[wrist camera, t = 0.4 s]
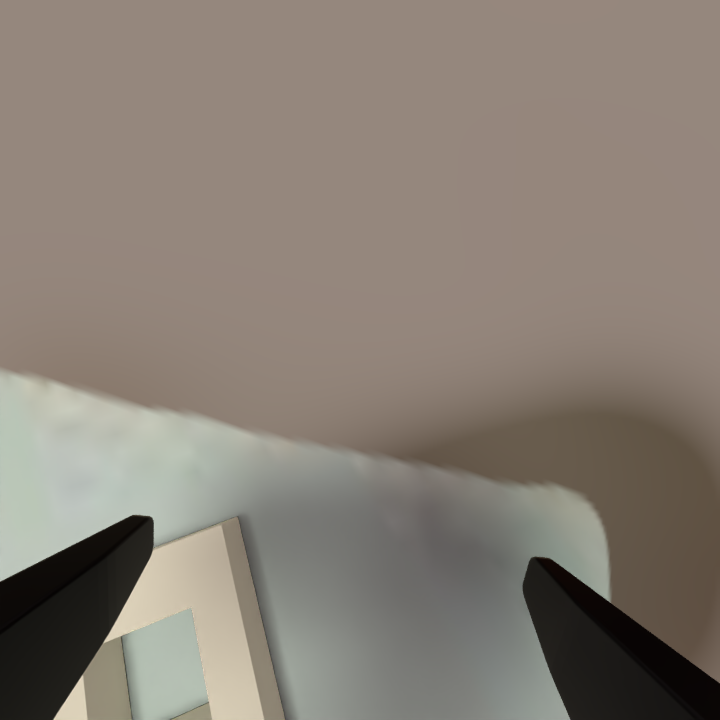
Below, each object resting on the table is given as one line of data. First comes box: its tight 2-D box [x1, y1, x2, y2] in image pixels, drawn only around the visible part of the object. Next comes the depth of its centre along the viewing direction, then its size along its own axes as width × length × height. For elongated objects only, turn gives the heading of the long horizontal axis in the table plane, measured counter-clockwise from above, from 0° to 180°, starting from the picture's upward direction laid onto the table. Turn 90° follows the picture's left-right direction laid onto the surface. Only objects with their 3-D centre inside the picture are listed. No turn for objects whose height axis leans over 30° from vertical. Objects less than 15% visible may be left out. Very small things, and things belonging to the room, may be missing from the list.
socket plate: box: [53, 516, 285, 720], centre depth 17 cm, size 12×18×3 cm, turn 110°
